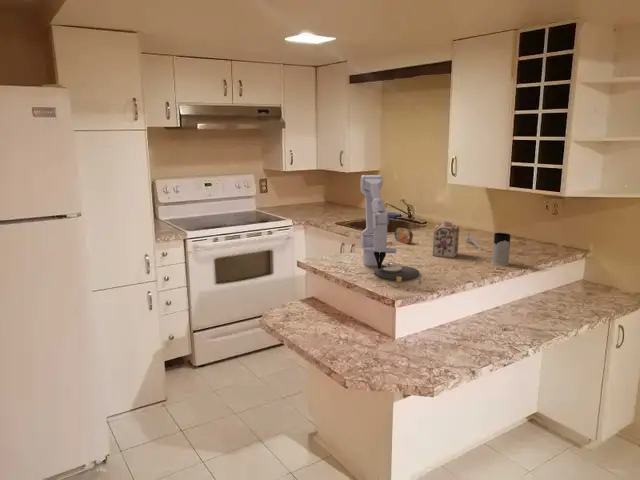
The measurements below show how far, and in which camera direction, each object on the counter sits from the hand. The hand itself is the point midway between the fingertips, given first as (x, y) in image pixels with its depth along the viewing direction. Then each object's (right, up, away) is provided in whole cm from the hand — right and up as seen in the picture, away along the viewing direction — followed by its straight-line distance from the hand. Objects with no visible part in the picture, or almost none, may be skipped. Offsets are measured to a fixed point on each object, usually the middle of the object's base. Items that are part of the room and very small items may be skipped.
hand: (379, 268), depth 222 cm
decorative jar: (+40, +5, +43) cm, 59 cm away
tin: (+23, +11, +73) cm, 77 cm away
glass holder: (+64, +1, +28) cm, 69 cm away
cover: (+6, -1, 0) cm, 6 cm away
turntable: (+8, -3, 0) cm, 8 cm away
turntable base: (+8, -4, 0) cm, 9 cm away
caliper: (+63, +9, +65) cm, 91 cm away
